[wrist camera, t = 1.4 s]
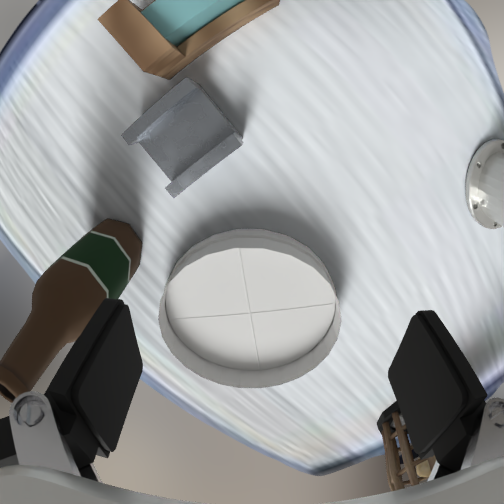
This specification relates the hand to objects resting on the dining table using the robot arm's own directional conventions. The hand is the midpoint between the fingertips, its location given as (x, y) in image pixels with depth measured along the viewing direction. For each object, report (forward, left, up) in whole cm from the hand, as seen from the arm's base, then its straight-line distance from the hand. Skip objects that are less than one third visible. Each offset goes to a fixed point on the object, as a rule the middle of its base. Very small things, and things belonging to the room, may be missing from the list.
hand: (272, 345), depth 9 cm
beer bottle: (+19, -4, -25) cm, 32 cm away
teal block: (-7, -18, -21) cm, 28 cm away
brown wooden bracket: (-6, -18, -25) cm, 31 cm away
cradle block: (+3, -8, -25) cm, 26 cm away
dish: (+11, +13, -25) cm, 30 cm away
